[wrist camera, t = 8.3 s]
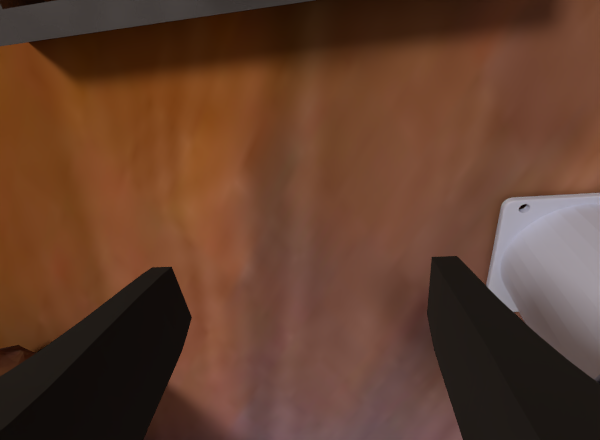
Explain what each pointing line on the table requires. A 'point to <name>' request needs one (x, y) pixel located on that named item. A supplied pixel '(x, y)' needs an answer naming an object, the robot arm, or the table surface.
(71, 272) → the table surface
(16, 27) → the rack rail
